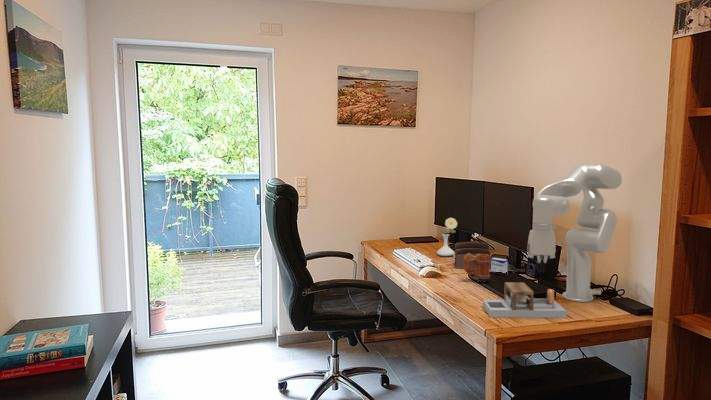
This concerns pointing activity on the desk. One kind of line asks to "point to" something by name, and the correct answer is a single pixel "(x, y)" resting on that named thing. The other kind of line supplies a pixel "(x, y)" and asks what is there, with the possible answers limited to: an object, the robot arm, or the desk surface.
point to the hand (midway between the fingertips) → (540, 271)
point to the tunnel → (518, 292)
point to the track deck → (522, 310)
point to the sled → (549, 301)
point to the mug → (477, 265)
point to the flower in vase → (445, 249)
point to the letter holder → (471, 248)
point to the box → (499, 265)
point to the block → (520, 299)
